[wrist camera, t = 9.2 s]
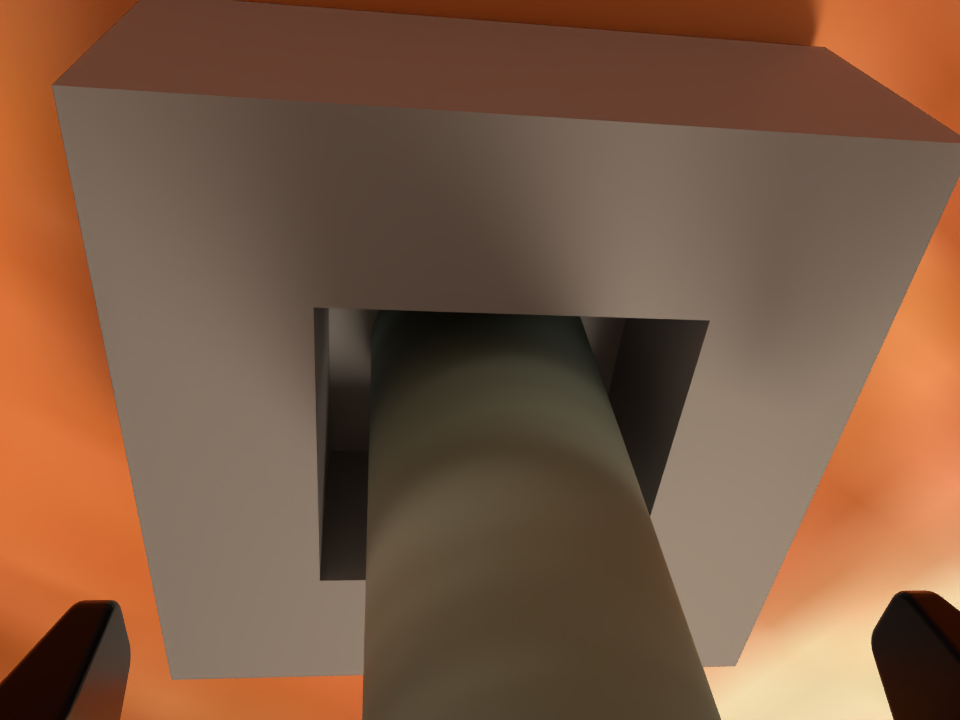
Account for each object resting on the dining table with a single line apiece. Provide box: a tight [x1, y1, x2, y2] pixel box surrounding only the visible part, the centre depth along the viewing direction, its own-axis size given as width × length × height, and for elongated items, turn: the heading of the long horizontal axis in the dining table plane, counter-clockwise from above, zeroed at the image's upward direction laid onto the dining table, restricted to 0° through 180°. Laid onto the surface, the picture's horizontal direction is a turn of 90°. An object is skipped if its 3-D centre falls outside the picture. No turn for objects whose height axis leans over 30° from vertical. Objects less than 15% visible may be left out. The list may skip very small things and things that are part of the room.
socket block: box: [52, 0, 960, 680], centre depth 13 cm, size 10×10×4 cm
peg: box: [362, 310, 721, 720], centre depth 10 cm, size 4×4×10 cm
